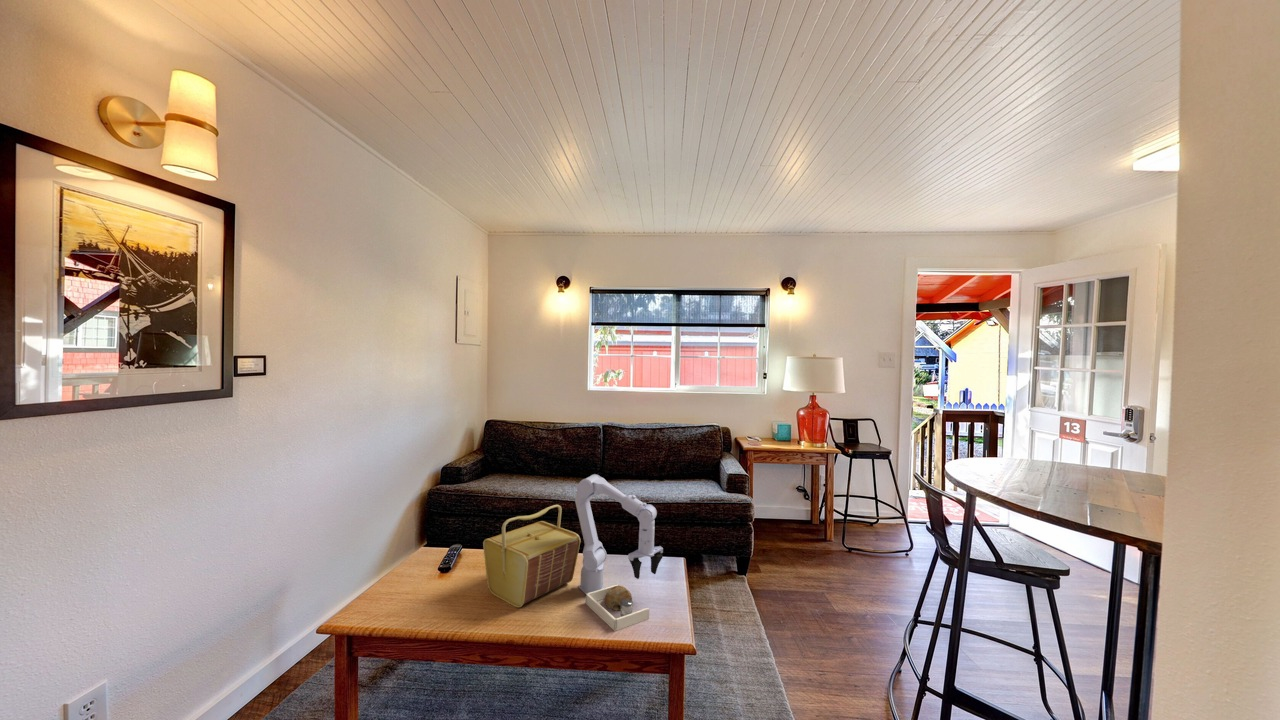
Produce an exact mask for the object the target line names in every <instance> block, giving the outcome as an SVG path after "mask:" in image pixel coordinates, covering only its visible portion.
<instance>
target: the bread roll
mask: <svg viewBox="0 0 1280 720" xmlns="http://www.w3.org/2000/svg"><path fill="white" fill-rule="evenodd" d="M632 597H633V596H632V593H631V592H630V590H629V589H627V588H626V587H624V586H623V585H619V586H615V587H613V588H612V589H611V590H609V591H608V592H607V594H606V596H605V599H604V604H605V605H606V607H608V608H609V609H610V610H613V611H621V600H623V599H630V600H632V601H633V598H632Z"/></svg>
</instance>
